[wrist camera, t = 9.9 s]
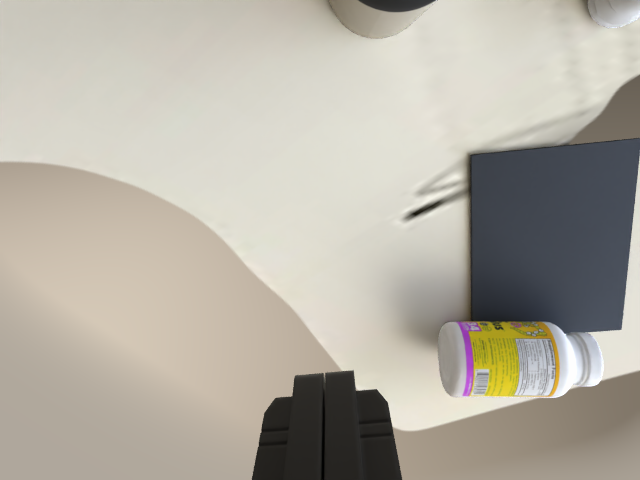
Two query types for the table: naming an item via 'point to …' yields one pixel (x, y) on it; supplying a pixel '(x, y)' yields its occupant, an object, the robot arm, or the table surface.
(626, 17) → the rook chess piece
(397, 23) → the travel mug
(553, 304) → the mat
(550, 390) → the supplement bottle
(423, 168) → the table surface
